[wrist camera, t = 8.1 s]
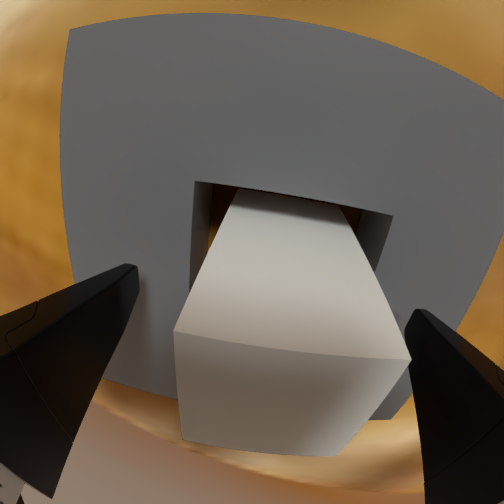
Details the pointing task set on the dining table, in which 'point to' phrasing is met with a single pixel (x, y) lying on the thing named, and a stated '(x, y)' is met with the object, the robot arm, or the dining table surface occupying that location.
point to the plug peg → (284, 332)
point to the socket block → (271, 162)
